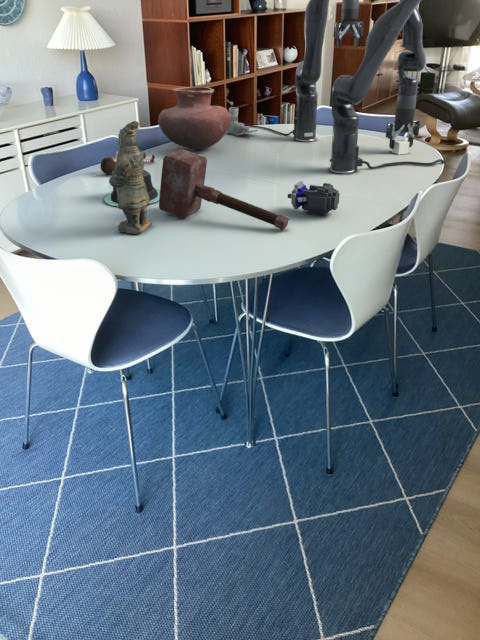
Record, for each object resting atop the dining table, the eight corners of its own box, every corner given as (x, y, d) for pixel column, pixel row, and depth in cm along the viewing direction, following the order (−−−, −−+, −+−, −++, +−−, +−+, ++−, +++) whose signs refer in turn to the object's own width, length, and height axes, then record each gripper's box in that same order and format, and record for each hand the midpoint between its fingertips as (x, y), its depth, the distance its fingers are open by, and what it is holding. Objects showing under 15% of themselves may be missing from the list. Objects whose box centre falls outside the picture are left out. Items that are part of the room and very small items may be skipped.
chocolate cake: (91, 202, 180) (113, 186, 197) (142, 231, 182) (160, 212, 199) (107, 162, 172) (129, 148, 190) (160, 192, 174) (177, 176, 192)
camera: (234, 105, 269) (258, 109, 260) (235, 130, 275) (258, 135, 266) (222, 108, 263) (246, 112, 254) (223, 134, 269) (246, 138, 260)
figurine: (161, 151, 222) (115, 157, 203) (161, 170, 225) (116, 178, 206) (137, 147, 228) (90, 152, 209) (137, 166, 232) (91, 173, 212)
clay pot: (236, 141, 255) (235, 83, 242) (223, 158, 229) (221, 93, 216) (172, 140, 260) (168, 82, 247) (152, 156, 234) (146, 93, 221)
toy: (295, 178, 172) (342, 184, 166) (295, 205, 177) (340, 211, 171) (285, 186, 166) (333, 192, 160) (284, 213, 170) (331, 220, 164)
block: (401, 150, 235) (402, 139, 233) (408, 153, 231) (409, 142, 228) (391, 151, 234) (392, 140, 231) (398, 154, 229) (399, 143, 227)
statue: (131, 220, 168) (117, 116, 152) (158, 224, 164) (147, 118, 149) (109, 233, 159) (93, 124, 144) (138, 237, 156) (124, 126, 140)
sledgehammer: (299, 190, 156) (179, 147, 167) (285, 200, 148) (161, 154, 160) (286, 244, 166) (174, 200, 177) (272, 256, 158) (156, 209, 170)
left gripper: (360, 7, 257) (356, 46, 265) (332, 8, 253) (330, 47, 261) (368, 7, 251) (364, 47, 259) (339, 8, 247) (337, 48, 255)
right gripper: (415, 103, 228) (410, 144, 236) (385, 106, 224) (380, 147, 232) (426, 106, 221) (420, 148, 230) (395, 109, 218) (390, 151, 226)
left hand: (347, 47), depth 260 cm, fingers open, 8 cm apart
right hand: (400, 147), depth 231 cm, fingers open, 8 cm apart
